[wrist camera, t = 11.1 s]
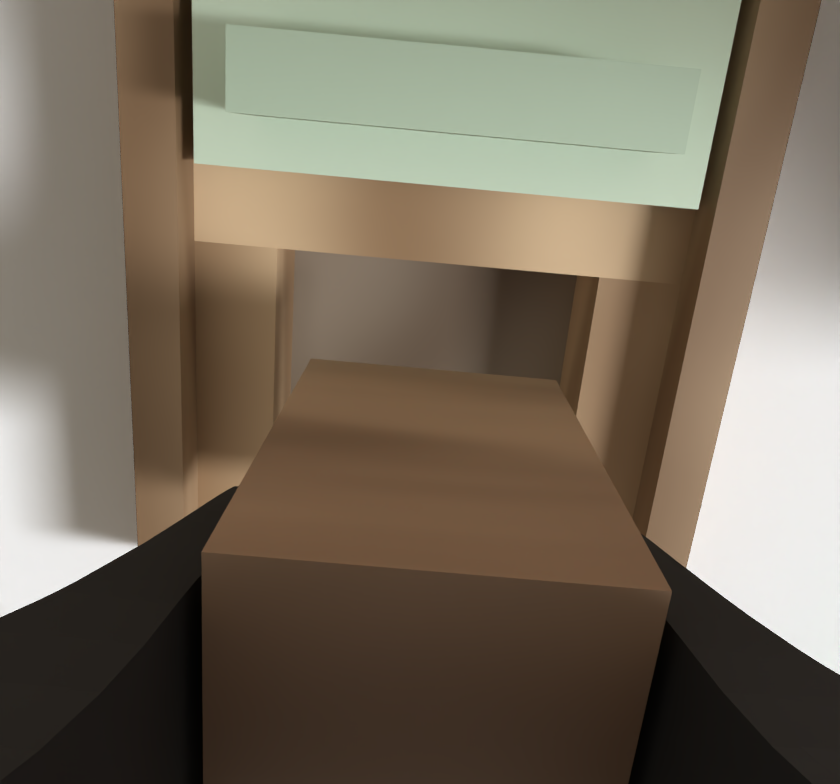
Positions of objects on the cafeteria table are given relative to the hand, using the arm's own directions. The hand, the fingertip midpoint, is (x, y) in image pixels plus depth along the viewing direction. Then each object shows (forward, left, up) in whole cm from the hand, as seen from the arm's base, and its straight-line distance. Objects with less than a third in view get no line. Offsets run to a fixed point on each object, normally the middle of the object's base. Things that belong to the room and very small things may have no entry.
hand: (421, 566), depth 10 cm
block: (0, 0, -3) cm, 3 cm away
